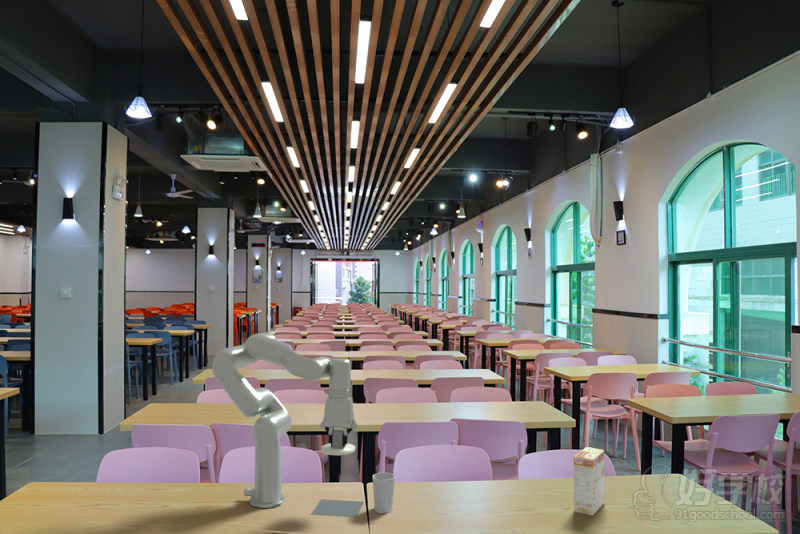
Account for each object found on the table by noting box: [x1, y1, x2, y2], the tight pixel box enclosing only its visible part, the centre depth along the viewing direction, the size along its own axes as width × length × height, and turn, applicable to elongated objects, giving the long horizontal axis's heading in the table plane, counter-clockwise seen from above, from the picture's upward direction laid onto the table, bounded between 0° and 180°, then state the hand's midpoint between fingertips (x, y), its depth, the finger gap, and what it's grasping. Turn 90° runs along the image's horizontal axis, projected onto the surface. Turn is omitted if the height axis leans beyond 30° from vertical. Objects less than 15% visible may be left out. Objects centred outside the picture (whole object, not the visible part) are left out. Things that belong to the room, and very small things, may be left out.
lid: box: [320, 428, 356, 456], centre depth 203 cm, size 12×12×7 cm
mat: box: [310, 498, 365, 518], centre depth 202 cm, size 16×14×1 cm
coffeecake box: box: [573, 446, 606, 517], centre depth 206 cm, size 15×7×20 cm, turn 145°
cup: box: [372, 472, 396, 514], centre depth 201 cm, size 8×8×12 cm
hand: (338, 445), depth 203 cm, fingers closed on lid, 3 cm apart
